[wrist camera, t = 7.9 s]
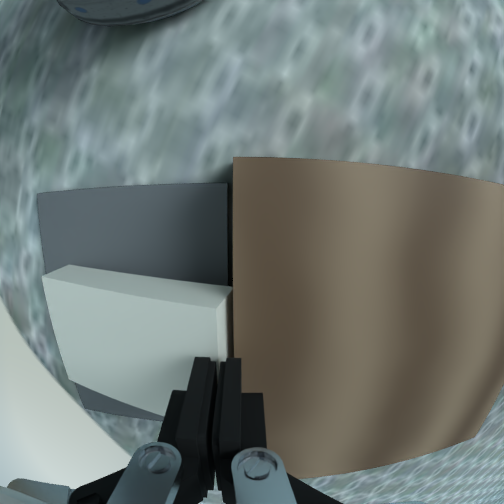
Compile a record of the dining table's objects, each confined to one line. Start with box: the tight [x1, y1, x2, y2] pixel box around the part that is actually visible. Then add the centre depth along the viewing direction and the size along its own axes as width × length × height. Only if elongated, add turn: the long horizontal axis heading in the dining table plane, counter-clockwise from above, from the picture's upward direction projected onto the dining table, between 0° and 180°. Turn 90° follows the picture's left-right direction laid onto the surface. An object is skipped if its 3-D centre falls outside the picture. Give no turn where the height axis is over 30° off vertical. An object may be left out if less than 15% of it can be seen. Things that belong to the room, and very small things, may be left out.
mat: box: [37, 183, 228, 421], centre depth 15 cm, size 10×14×1 cm
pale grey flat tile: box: [42, 265, 234, 416], centre depth 13 cm, size 9×6×2 cm, turn 89°
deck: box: [233, 157, 504, 479], centre depth 13 cm, size 16×16×4 cm
